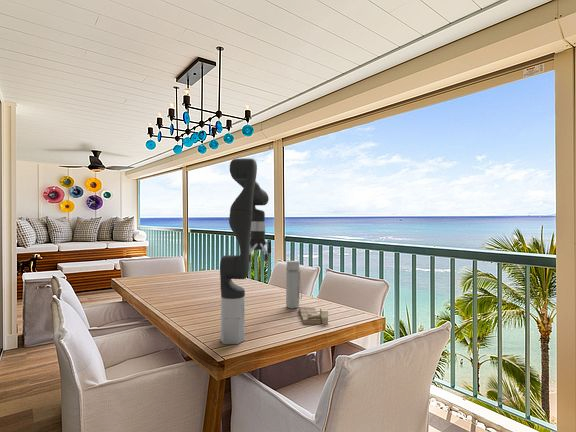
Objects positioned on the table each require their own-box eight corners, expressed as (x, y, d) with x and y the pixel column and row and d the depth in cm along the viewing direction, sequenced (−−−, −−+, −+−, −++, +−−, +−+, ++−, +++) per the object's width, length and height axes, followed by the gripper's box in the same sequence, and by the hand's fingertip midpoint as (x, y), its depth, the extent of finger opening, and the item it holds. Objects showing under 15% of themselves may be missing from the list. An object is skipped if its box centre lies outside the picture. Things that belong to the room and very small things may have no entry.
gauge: (328, 323, 150) (328, 310, 150) (308, 323, 149) (308, 310, 149) (326, 320, 155) (326, 307, 155) (307, 320, 154) (307, 307, 154)
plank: (320, 324, 149) (320, 319, 149) (303, 324, 149) (303, 319, 149) (314, 310, 171) (314, 306, 171) (298, 310, 171) (299, 306, 171)
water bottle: (283, 307, 176) (283, 261, 177) (290, 304, 183) (290, 260, 184) (298, 310, 172) (298, 262, 172) (304, 306, 179) (305, 261, 179)
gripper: (246, 230, 163) (245, 262, 162) (273, 230, 168) (272, 261, 168) (242, 230, 170) (242, 261, 169) (268, 230, 175) (268, 260, 175)
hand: (257, 261), depth 169 cm, fingers open, 8 cm apart
